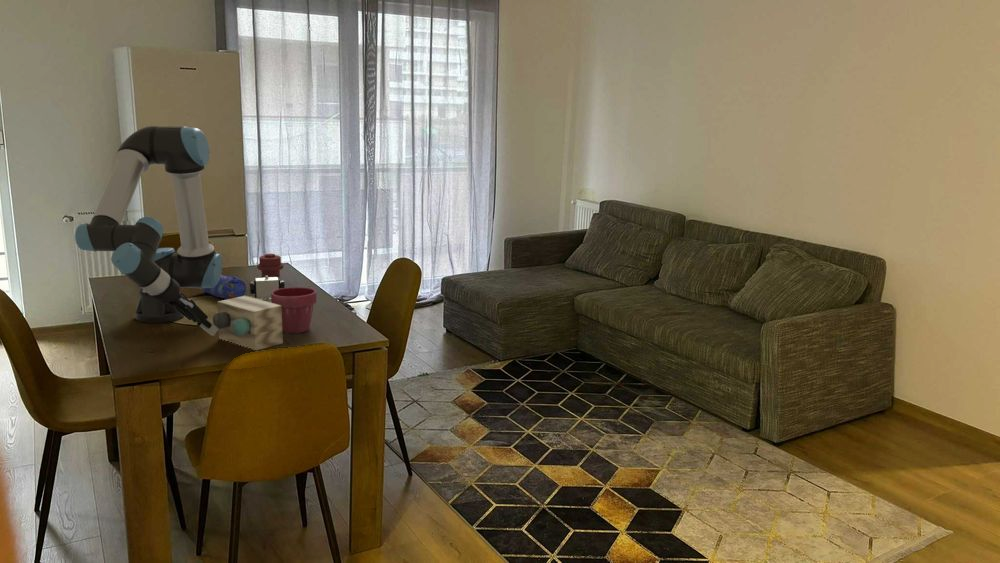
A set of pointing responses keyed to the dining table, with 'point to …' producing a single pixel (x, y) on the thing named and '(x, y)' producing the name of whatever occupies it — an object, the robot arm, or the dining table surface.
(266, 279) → the pneumatic valve
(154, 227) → the robot arm
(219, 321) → the knob charcoal
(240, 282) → the pencil case
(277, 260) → the mechanical component
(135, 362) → the dining table surface
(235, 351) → the dining table surface
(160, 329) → the dining table surface
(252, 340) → the block
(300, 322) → the plant pot
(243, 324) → the knob teal
